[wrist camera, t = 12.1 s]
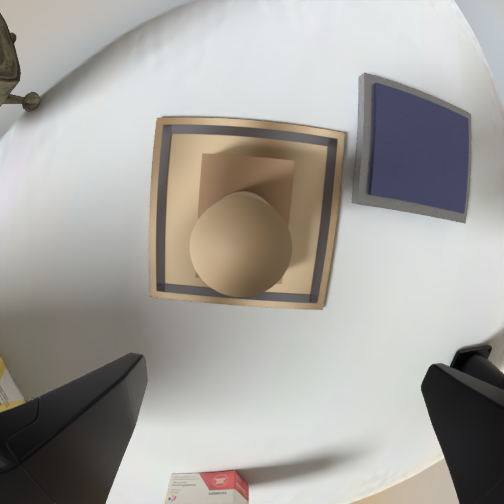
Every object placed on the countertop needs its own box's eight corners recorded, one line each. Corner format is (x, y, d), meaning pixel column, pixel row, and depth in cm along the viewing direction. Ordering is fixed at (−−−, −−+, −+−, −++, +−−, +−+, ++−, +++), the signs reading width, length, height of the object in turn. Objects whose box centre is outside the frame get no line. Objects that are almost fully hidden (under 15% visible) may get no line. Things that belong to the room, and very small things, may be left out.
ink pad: (463, 115, 16) (473, 113, 14) (457, 221, 18) (468, 224, 17) (358, 77, 15) (366, 70, 14) (351, 202, 18) (359, 204, 16)
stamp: (289, 163, 17) (331, 145, 8) (277, 272, 18) (303, 348, 10) (207, 156, 16) (168, 132, 8) (201, 267, 18) (164, 338, 9)
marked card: (343, 133, 16) (345, 132, 16) (321, 307, 19) (322, 310, 19) (158, 118, 16) (156, 117, 16) (151, 295, 19) (150, 297, 19)
